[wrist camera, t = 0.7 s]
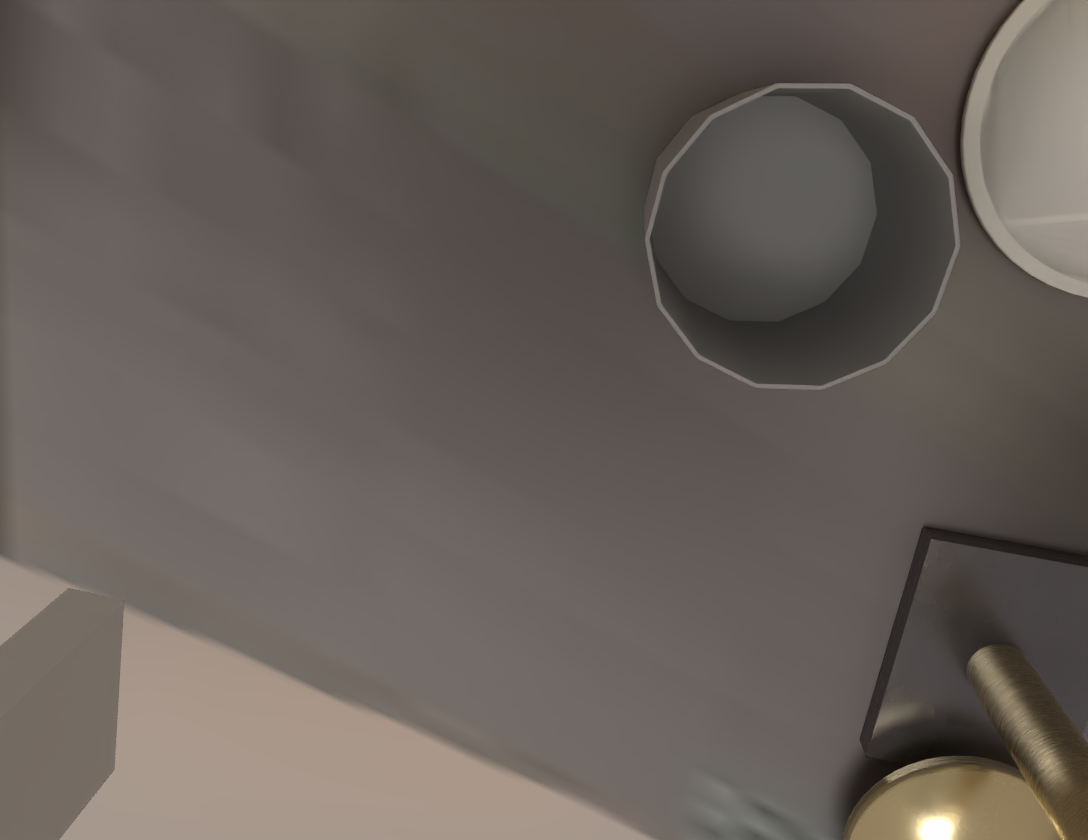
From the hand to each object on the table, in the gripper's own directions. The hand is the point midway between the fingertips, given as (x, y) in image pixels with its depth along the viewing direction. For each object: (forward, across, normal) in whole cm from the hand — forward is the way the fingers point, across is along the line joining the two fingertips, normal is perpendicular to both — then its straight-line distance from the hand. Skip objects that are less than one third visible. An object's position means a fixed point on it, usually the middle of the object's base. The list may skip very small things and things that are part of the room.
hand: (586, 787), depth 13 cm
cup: (+27, +4, +6) cm, 28 cm away
